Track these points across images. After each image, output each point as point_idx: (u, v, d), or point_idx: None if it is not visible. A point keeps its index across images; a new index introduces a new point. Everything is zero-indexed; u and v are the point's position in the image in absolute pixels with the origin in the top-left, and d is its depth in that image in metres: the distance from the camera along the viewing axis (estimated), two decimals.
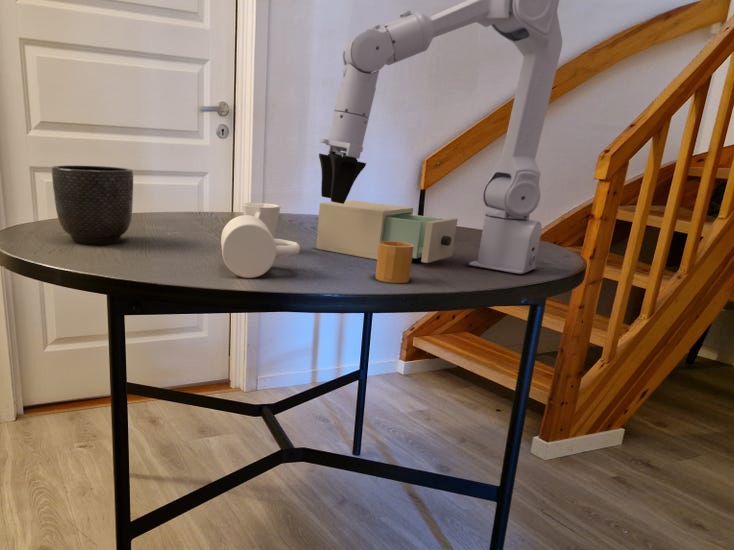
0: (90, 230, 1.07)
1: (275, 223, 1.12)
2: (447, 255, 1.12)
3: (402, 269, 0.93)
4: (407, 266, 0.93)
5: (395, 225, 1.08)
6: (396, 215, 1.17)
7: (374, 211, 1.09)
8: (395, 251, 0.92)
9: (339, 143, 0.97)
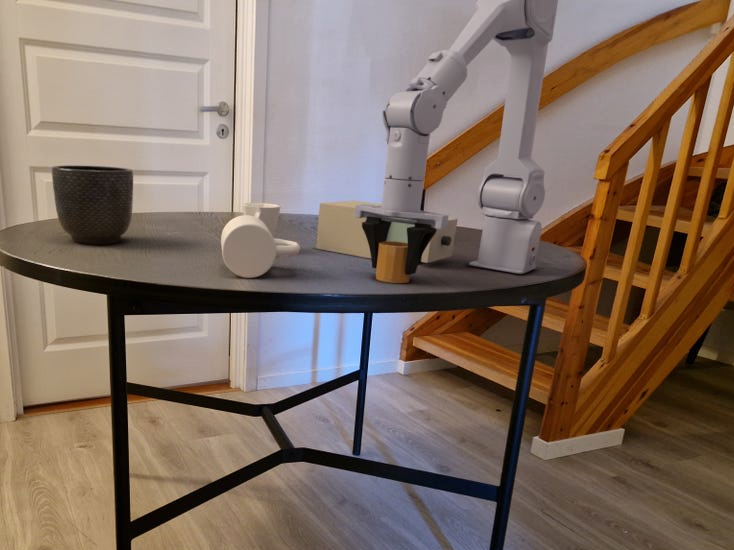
0: (90, 230, 1.07)
1: (275, 223, 1.12)
2: (447, 255, 1.12)
3: (402, 270, 0.93)
4: None
5: (395, 225, 1.08)
6: None
7: None
8: (395, 251, 0.92)
9: (418, 215, 0.89)
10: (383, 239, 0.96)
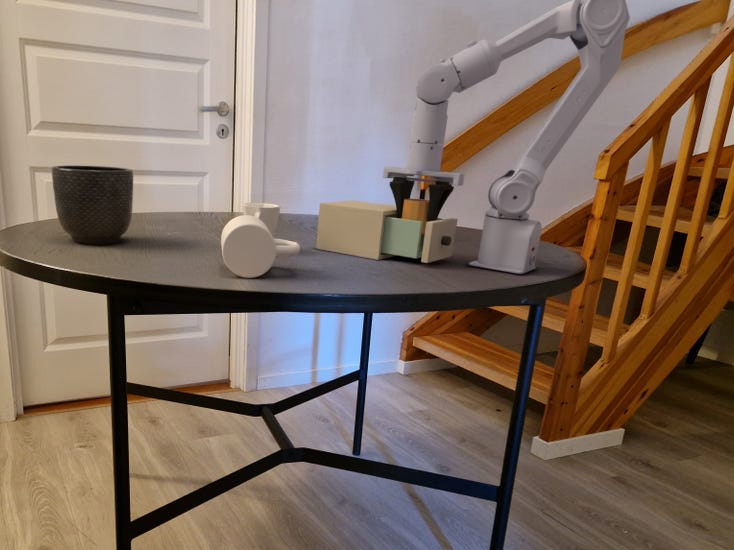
0: (90, 230, 1.07)
1: (275, 223, 1.12)
2: (447, 255, 1.12)
3: (424, 222, 1.08)
4: None
5: (395, 225, 1.08)
6: (396, 215, 1.17)
7: (374, 211, 1.09)
8: (418, 205, 1.07)
9: (439, 173, 1.04)
10: (407, 197, 1.11)
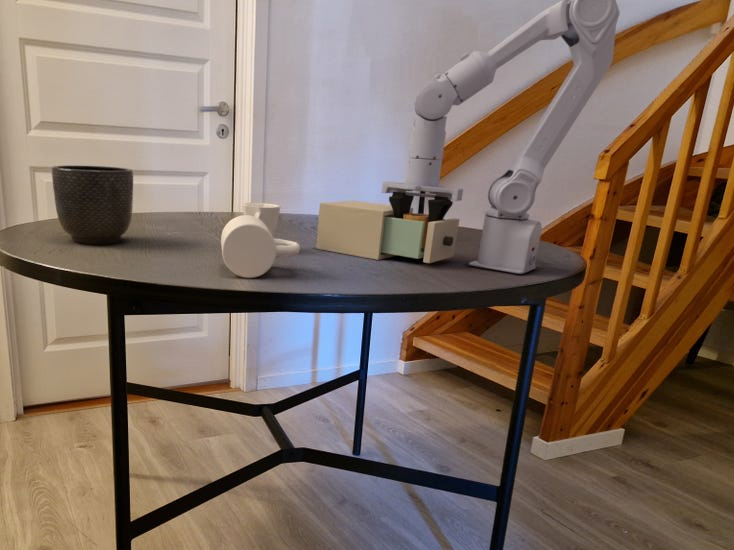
0: (90, 230, 1.07)
1: (275, 223, 1.12)
2: (449, 255, 1.11)
3: (423, 236, 1.09)
4: None
5: (397, 225, 1.08)
6: None
7: (374, 211, 1.09)
8: (418, 220, 1.08)
9: (438, 189, 1.05)
10: (406, 211, 1.12)
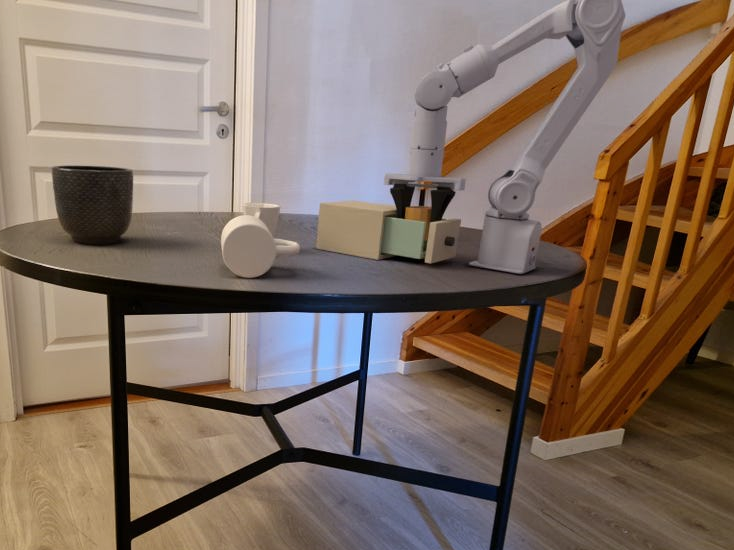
0: (90, 230, 1.07)
1: (275, 223, 1.12)
2: (451, 256, 1.11)
3: (426, 228, 1.08)
4: None
5: (398, 225, 1.08)
6: None
7: (374, 211, 1.09)
8: (420, 212, 1.07)
9: (440, 179, 1.04)
10: (408, 203, 1.12)
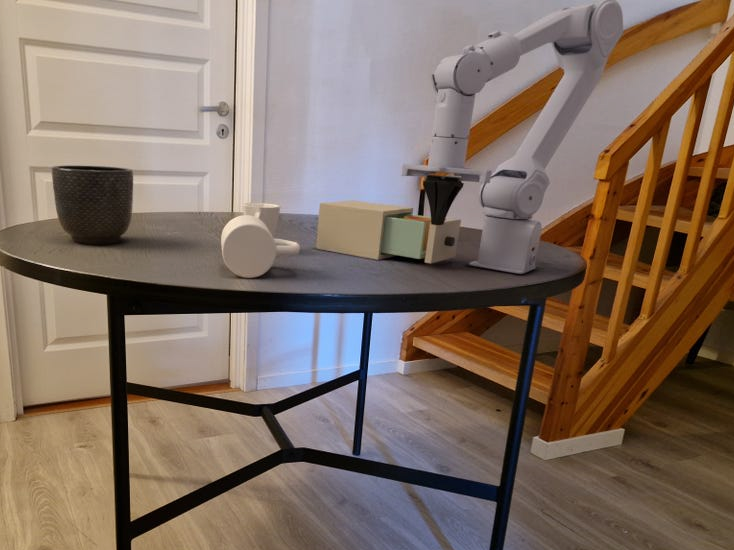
0: (90, 230, 1.07)
1: (275, 223, 1.12)
2: (450, 256, 1.11)
3: None
4: None
5: (398, 225, 1.08)
6: (399, 215, 1.16)
7: (374, 211, 1.09)
8: None
9: (464, 170, 0.96)
10: None
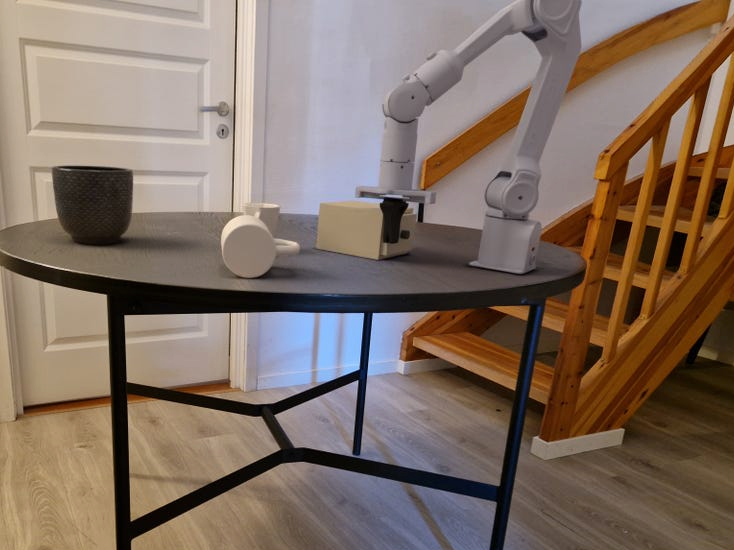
0: (90, 230, 1.07)
1: (275, 223, 1.12)
2: (407, 248, 1.16)
3: None
4: None
5: None
6: None
7: (374, 211, 1.09)
8: None
9: (410, 192, 1.02)
10: (398, 218, 1.07)
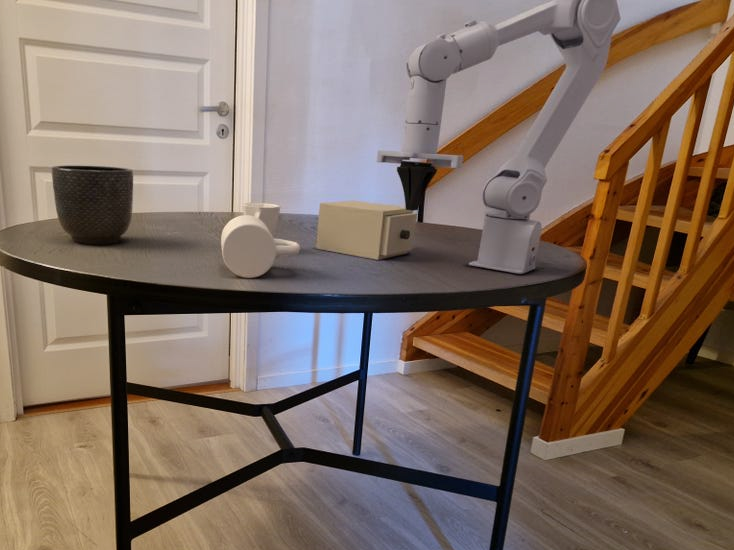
0: (90, 230, 1.07)
1: (275, 223, 1.12)
2: (407, 248, 1.16)
3: None
4: None
5: None
6: None
7: (374, 211, 1.09)
8: None
9: (436, 156, 0.98)
10: None
